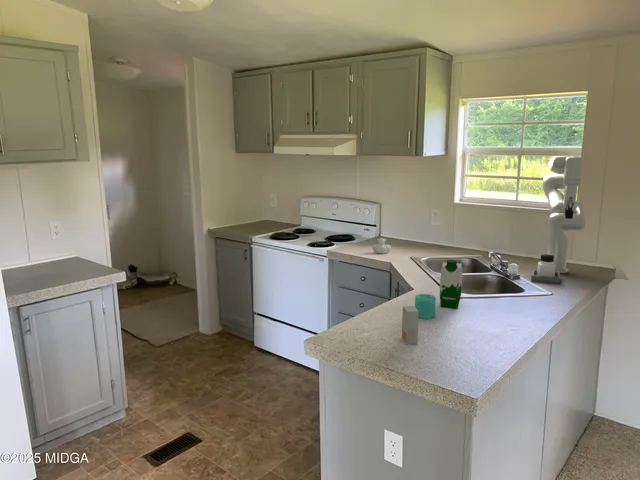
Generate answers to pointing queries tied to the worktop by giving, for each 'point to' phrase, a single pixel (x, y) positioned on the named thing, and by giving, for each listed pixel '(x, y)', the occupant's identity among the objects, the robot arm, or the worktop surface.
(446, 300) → the milk carton
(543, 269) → the medicine bottle
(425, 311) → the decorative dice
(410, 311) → the skincare box
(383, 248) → the white lobed vase
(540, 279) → the tray
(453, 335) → the worktop surface
